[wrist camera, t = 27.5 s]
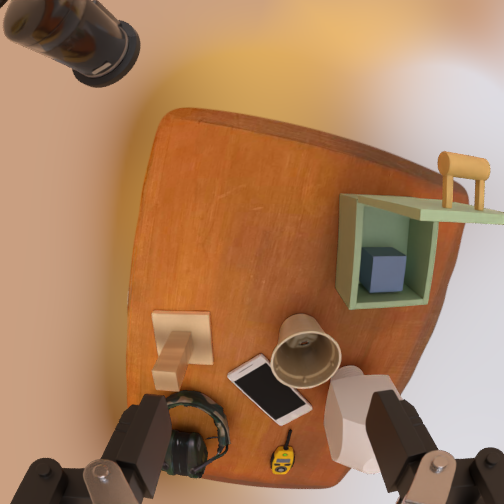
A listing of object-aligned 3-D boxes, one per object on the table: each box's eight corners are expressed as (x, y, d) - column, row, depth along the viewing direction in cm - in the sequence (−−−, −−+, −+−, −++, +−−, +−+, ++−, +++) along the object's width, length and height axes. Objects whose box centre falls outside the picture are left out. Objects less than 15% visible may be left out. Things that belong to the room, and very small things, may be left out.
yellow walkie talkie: (268, 475, 55) (278, 433, 51) (268, 468, 56) (277, 426, 53) (290, 475, 55) (303, 433, 51) (289, 469, 56) (302, 427, 53)
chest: (404, 285, 45) (427, 304, 38) (334, 287, 45) (349, 309, 38) (412, 196, 42) (440, 202, 34) (339, 193, 42) (356, 198, 34)
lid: (521, 226, 20) (523, 164, 18) (419, 220, 20) (421, 143, 18) (441, 206, 34) (442, 163, 33) (357, 202, 34) (358, 154, 33)
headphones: (237, 477, 50) (240, 400, 48) (182, 505, 40) (171, 427, 38) (197, 445, 59) (194, 371, 57) (145, 465, 50) (132, 387, 48)
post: (153, 310, 47) (126, 349, 35) (210, 311, 47) (196, 354, 35) (161, 358, 49) (139, 403, 37) (213, 360, 49) (203, 409, 37)
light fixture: (317, 399, 51) (338, 487, 31) (323, 358, 49) (352, 448, 29) (366, 395, 51) (400, 475, 31) (375, 354, 48) (421, 434, 29)
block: (361, 247, 43) (373, 256, 38) (392, 247, 43) (406, 255, 38) (358, 280, 44) (369, 293, 39) (389, 279, 44) (402, 291, 39)
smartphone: (280, 423, 52) (280, 426, 51) (226, 373, 49) (226, 377, 48) (312, 406, 51) (313, 409, 50) (261, 352, 48) (261, 355, 47)
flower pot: (297, 366, 49) (303, 399, 41) (255, 332, 47) (255, 363, 39) (340, 329, 47) (355, 358, 39) (300, 291, 46) (309, 317, 37)
